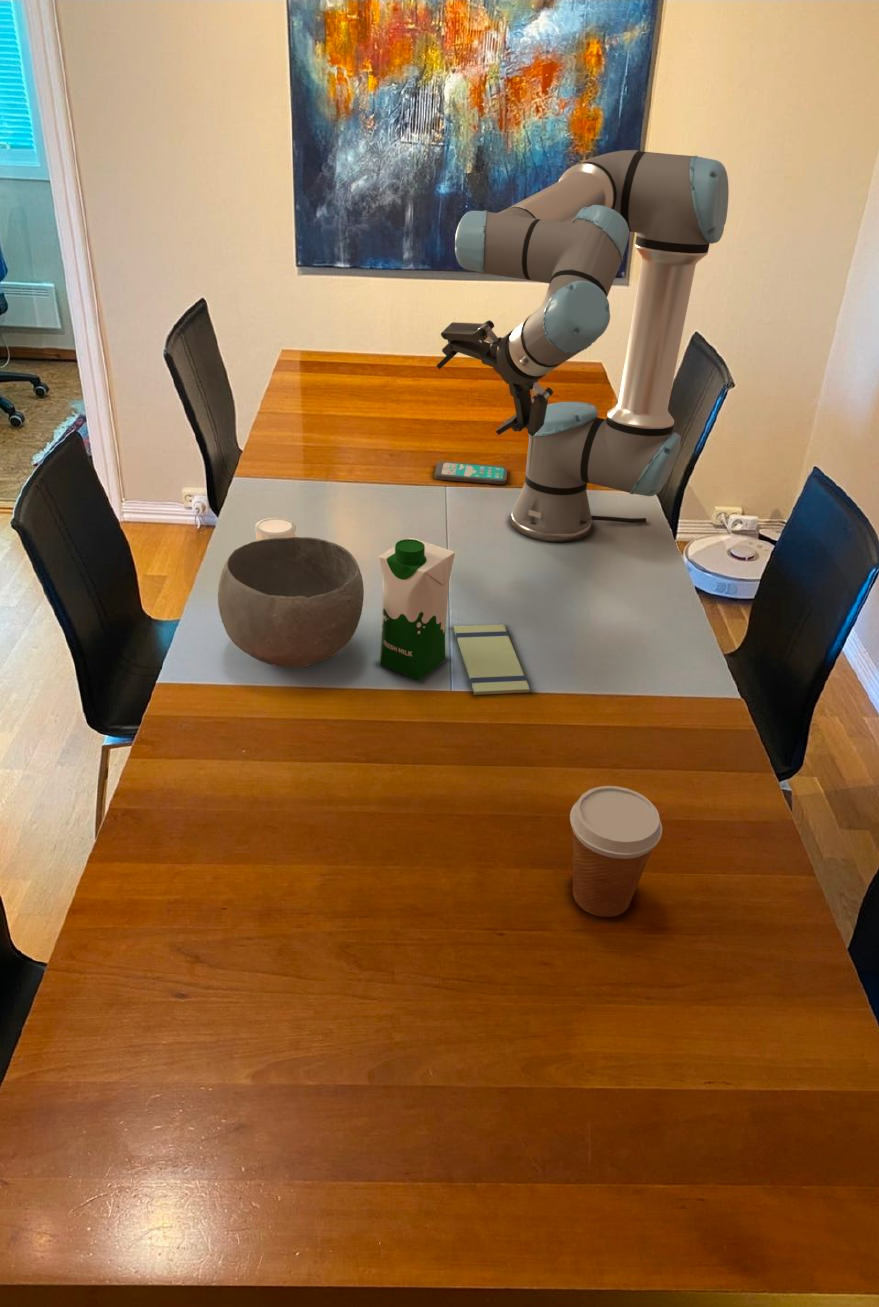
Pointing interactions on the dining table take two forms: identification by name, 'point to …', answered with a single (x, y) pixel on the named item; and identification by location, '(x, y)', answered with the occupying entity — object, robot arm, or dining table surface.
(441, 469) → the smartphone
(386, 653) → the milk carton
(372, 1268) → the dining table surface
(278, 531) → the beige tapered cylinder
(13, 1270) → the dining table surface
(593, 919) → the dining table surface
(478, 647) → the tea towel
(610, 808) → the disposable coffee cup
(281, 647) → the bowl
